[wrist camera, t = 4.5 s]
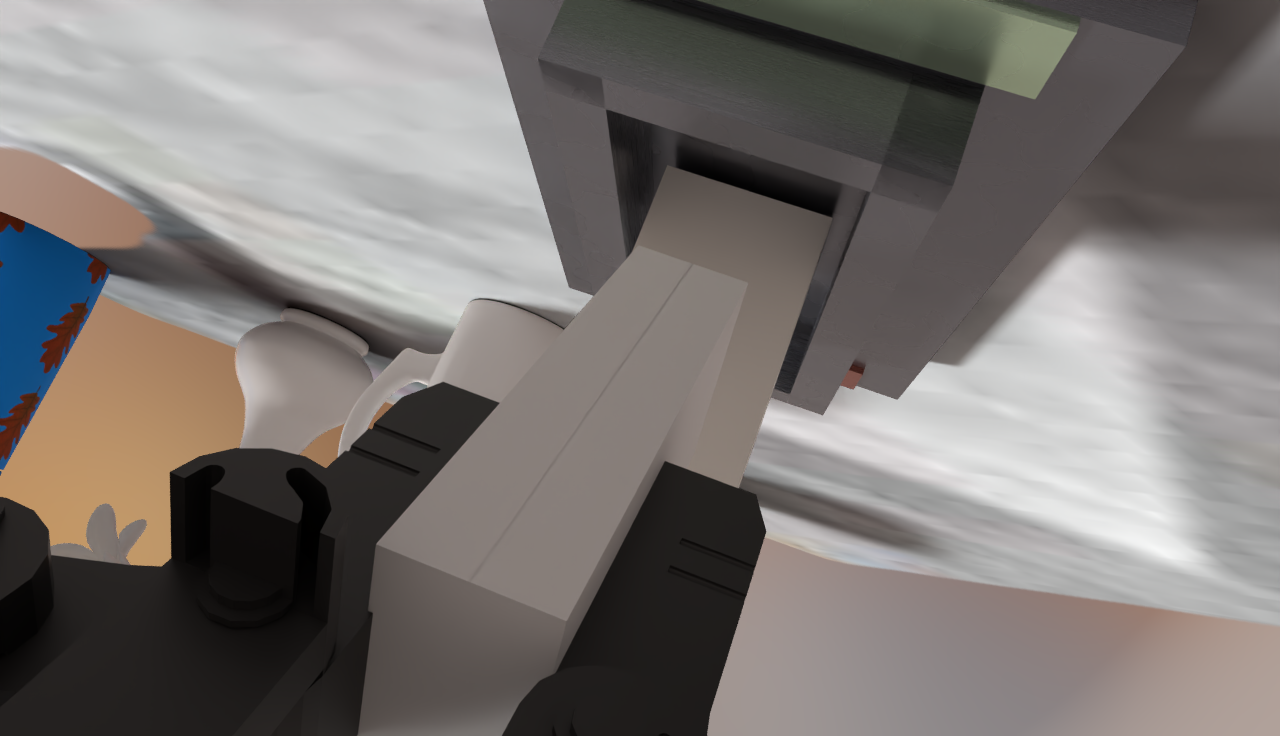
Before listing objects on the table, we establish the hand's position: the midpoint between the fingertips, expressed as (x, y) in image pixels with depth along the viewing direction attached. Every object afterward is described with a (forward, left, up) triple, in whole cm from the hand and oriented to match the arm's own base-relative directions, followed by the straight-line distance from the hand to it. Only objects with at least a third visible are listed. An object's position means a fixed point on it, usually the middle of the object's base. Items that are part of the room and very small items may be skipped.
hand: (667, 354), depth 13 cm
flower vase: (+20, -55, -9) cm, 59 cm away
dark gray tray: (+7, -7, -8) cm, 13 cm away
